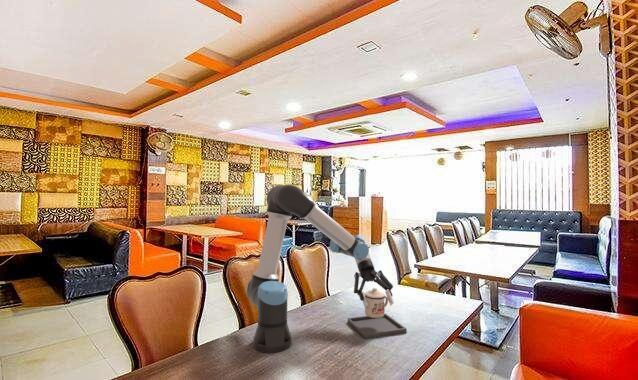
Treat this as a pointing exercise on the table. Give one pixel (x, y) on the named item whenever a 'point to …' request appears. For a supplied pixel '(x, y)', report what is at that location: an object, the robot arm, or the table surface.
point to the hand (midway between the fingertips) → (379, 305)
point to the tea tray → (376, 326)
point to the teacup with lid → (375, 303)
